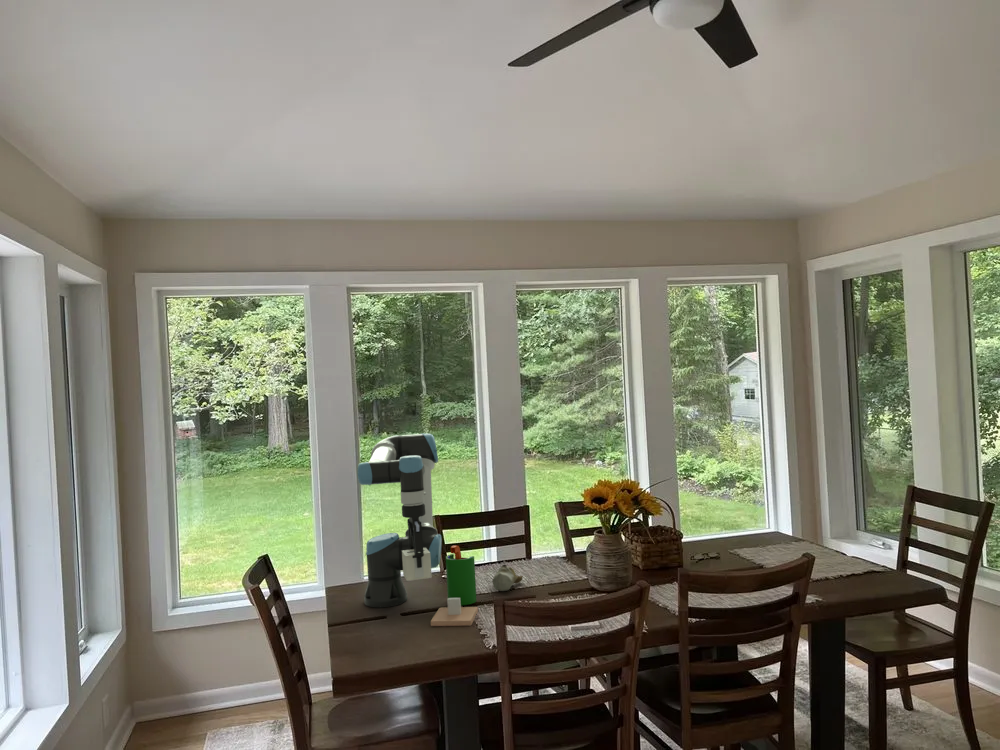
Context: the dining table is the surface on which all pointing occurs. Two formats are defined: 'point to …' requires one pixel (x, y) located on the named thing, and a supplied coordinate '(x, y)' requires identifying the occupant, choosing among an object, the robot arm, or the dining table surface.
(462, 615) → the base
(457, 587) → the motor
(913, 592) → the dining table surface
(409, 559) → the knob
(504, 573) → the ceramic sculpture
